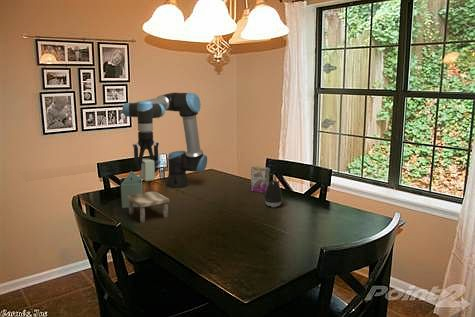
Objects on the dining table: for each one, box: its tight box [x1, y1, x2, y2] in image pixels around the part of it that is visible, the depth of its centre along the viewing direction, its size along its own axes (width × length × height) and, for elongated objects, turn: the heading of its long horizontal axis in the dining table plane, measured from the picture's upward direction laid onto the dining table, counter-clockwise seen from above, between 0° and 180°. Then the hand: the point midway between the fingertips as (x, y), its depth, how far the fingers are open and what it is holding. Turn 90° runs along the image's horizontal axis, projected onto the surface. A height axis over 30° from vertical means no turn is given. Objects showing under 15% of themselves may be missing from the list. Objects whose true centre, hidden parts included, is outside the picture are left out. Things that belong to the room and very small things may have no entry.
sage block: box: [138, 157, 156, 182], centre depth 212 cm, size 5×8×10 cm, turn 36°
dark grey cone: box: [264, 180, 283, 208], centre depth 233 cm, size 10×10×15 cm
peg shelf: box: [127, 190, 170, 223], centre depth 216 cm, size 16×18×10 cm
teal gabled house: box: [120, 170, 144, 209], centre depth 232 cm, size 16×8×20 cm, turn 150°
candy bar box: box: [250, 165, 270, 194], centre depth 261 cm, size 11×5×16 cm, turn 58°
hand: (146, 175), depth 212 cm, fingers closed on sage block, 5 cm apart
